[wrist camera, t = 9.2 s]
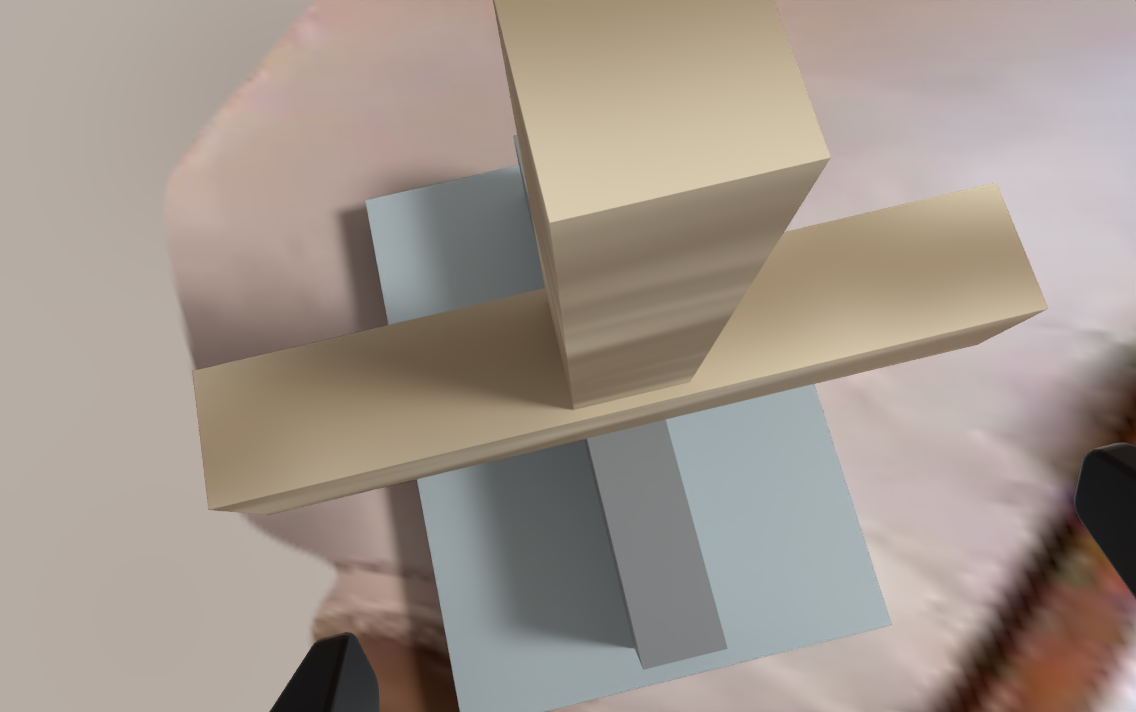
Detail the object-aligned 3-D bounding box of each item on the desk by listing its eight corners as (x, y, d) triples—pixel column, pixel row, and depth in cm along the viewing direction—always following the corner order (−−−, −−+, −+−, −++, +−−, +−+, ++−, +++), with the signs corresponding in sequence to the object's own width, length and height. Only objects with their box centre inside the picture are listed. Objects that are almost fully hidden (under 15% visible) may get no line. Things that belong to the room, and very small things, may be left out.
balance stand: (878, 620, 22) (951, 641, 17) (469, 723, 21) (437, 770, 17) (722, 133, 25) (750, 49, 21) (373, 213, 25) (328, 144, 21)
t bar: (977, 344, 19) (1682, -14, 7) (269, 514, 18) (-361, 463, 6) (935, 235, 20) (1503, -266, 7) (253, 396, 19) (-341, 143, 7)
